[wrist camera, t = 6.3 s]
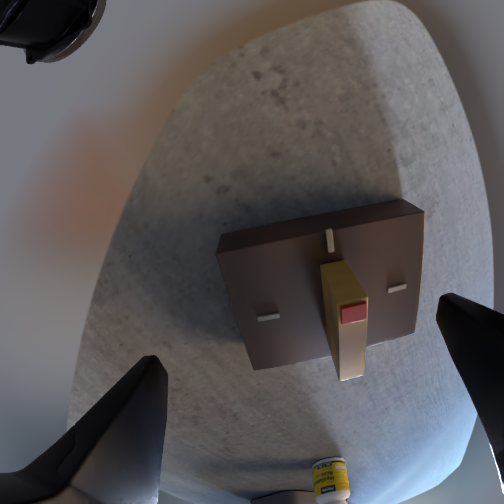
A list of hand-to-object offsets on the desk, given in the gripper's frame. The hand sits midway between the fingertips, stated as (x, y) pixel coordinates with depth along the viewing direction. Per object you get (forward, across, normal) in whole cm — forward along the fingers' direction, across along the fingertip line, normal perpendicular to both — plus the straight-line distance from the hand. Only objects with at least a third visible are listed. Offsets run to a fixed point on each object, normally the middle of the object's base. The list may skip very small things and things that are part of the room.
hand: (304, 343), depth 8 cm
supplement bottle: (+11, -2, +42) cm, 43 cm away
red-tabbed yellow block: (+8, -3, +5) cm, 10 cm away
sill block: (+12, -3, +6) cm, 13 cm away
